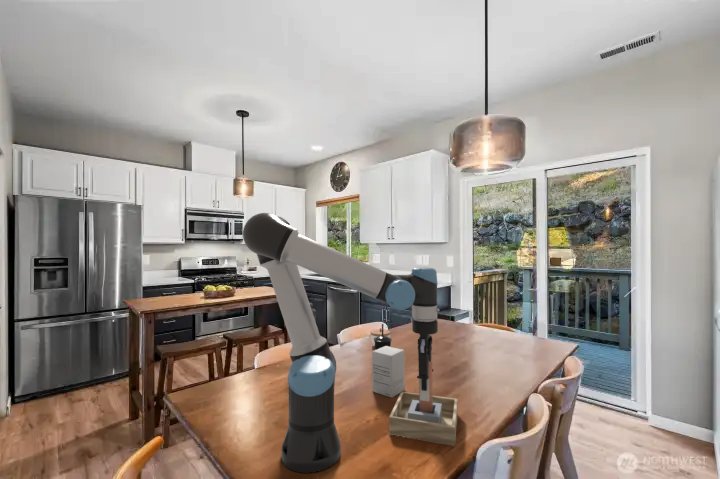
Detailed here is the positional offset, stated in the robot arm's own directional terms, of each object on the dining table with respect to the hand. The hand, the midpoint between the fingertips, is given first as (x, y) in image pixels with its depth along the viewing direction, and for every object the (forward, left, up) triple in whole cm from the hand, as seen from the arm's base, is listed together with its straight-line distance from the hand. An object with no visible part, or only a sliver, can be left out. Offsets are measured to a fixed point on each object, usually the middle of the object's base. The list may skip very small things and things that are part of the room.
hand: (425, 396), depth 104 cm
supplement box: (+20, +16, -8) cm, 27 cm away
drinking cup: (+39, +23, -8) cm, 46 cm away
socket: (0, 0, -8) cm, 8 cm away
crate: (0, 0, -8) cm, 8 cm away
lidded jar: (+74, +33, -8) cm, 81 cm away
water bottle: (+34, +56, -8) cm, 66 cm away
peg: (0, 0, -4) cm, 4 cm away
